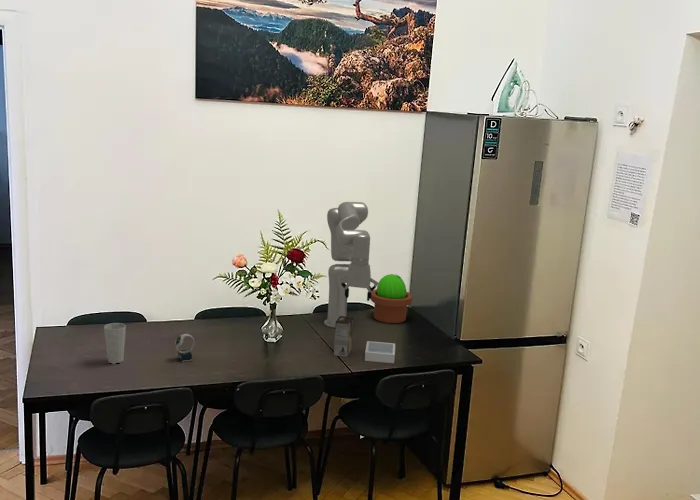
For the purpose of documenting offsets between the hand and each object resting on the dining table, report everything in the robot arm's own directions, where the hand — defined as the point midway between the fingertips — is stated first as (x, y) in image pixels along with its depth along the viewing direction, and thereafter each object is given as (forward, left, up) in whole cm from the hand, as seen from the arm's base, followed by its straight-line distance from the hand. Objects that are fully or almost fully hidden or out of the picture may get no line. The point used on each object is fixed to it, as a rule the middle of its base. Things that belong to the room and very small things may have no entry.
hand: (357, 298), depth 274 cm
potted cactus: (-55, +15, -26) cm, 62 cm away
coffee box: (+1, -5, -26) cm, 27 cm away
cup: (+33, -96, -26) cm, 105 cm away
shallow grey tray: (+1, +12, -26) cm, 28 cm away
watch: (+24, -70, -26) cm, 79 cm away
